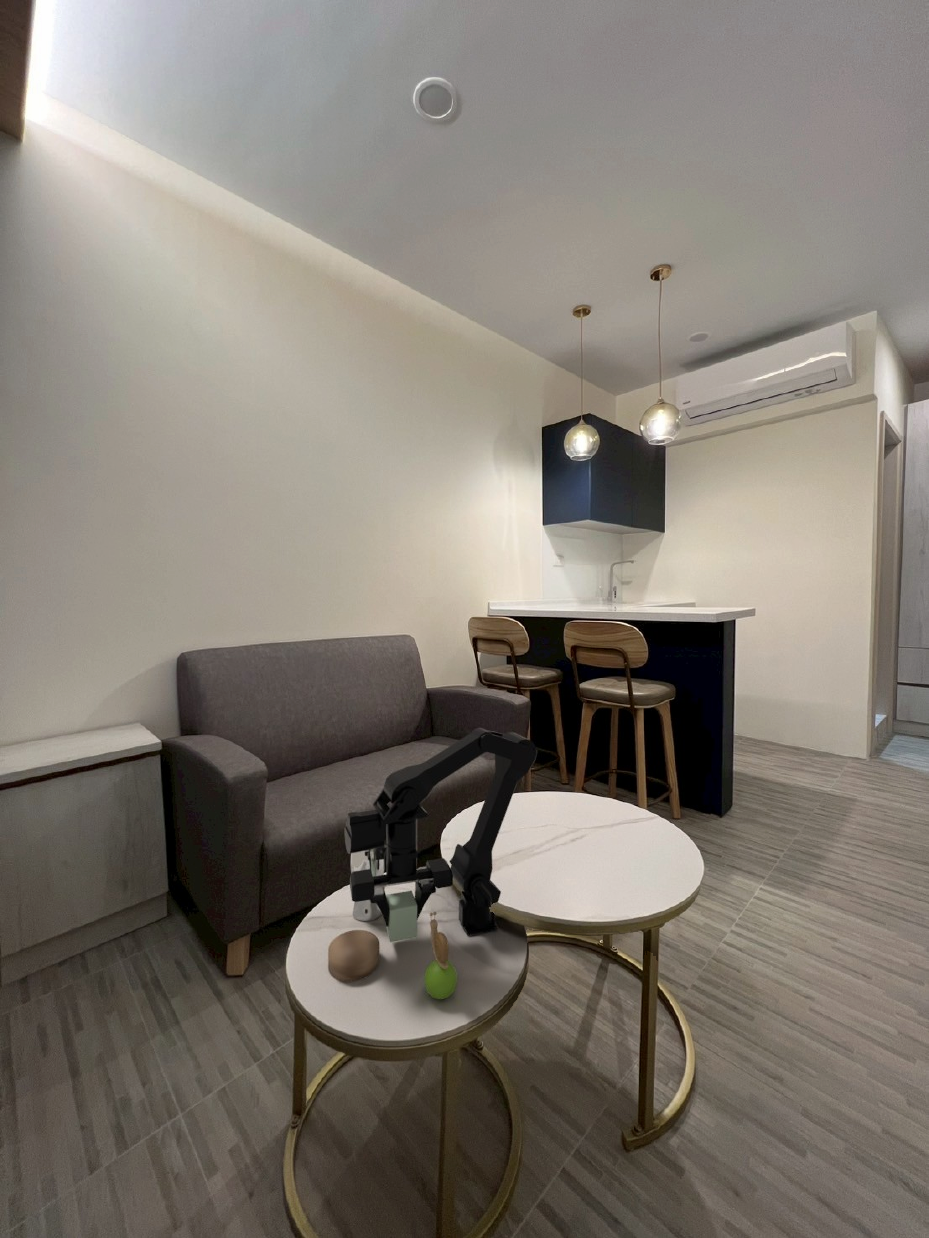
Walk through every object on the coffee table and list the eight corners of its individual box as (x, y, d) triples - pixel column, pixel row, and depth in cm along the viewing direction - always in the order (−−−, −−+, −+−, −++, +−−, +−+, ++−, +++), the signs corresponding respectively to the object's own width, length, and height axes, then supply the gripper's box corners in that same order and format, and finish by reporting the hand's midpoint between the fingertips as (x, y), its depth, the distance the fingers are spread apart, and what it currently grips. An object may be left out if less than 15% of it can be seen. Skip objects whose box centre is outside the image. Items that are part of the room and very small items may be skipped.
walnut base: (375, 941, 96) (376, 926, 96) (382, 975, 87) (382, 958, 87) (327, 950, 93) (327, 934, 93) (329, 986, 84) (329, 969, 84)
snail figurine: (445, 974, 88) (446, 907, 87) (462, 1000, 82) (463, 928, 81) (417, 984, 85) (417, 915, 85) (432, 1012, 79) (432, 938, 79)
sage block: (411, 920, 98) (411, 890, 97) (416, 937, 93) (417, 905, 93) (385, 925, 96) (386, 894, 96) (389, 942, 91) (390, 910, 91)
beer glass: (351, 925, 100) (351, 852, 100) (349, 905, 107) (349, 836, 106) (386, 919, 102) (386, 847, 102) (382, 899, 109) (382, 832, 108)
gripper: (439, 817, 104) (438, 890, 105) (347, 829, 99) (347, 906, 99) (454, 842, 94) (453, 923, 94) (352, 856, 88) (352, 943, 89)
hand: (401, 922), depth 94 cm, fingers closed on sage block, 5 cm apart
